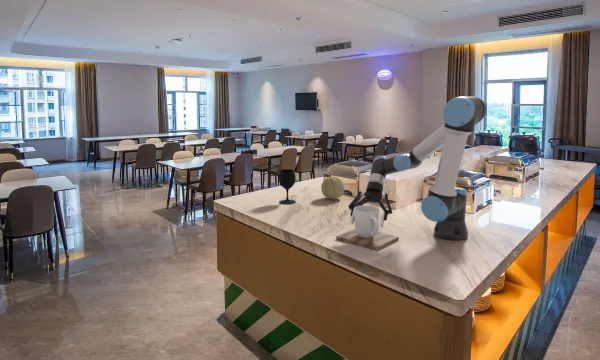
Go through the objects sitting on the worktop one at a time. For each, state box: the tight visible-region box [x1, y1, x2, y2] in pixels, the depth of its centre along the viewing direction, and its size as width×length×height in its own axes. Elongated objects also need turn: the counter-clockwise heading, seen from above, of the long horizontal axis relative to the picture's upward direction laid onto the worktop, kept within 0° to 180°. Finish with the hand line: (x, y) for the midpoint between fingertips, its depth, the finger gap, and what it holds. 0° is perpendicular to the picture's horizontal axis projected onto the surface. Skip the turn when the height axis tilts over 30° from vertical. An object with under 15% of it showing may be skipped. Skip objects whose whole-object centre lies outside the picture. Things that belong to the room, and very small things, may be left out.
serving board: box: [335, 228, 400, 251], centre depth 194 cm, size 22×18×2 cm
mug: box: [354, 204, 380, 238], centre depth 191 cm, size 15×11×13 cm
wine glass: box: [278, 168, 297, 205], centre depth 260 cm, size 10×10×20 cm
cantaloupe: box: [320, 175, 345, 200], centre depth 268 cm, size 15×15×15 cm
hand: (366, 224), depth 190 cm, fingers open, 13 cm apart
